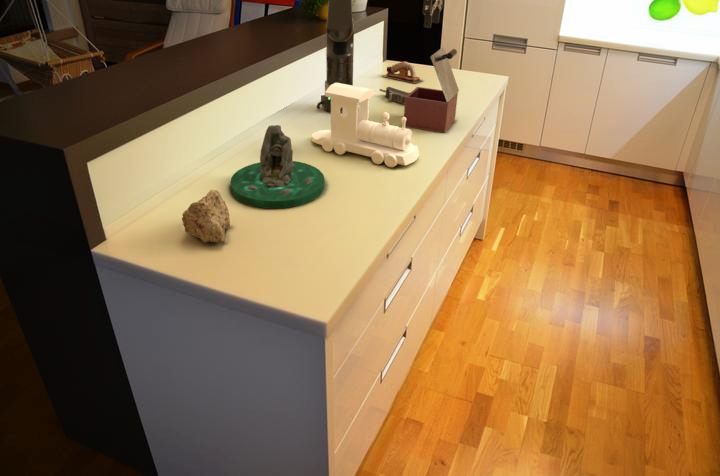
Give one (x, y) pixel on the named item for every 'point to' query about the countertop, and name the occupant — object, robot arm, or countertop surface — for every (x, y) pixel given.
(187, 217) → the rock
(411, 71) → the sculpture
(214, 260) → the countertop surface
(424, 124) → the open wooden cubby
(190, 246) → the countertop surface
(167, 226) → the countertop surface
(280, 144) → the diorama
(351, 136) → the toy train
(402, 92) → the toy gun
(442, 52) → the lid
